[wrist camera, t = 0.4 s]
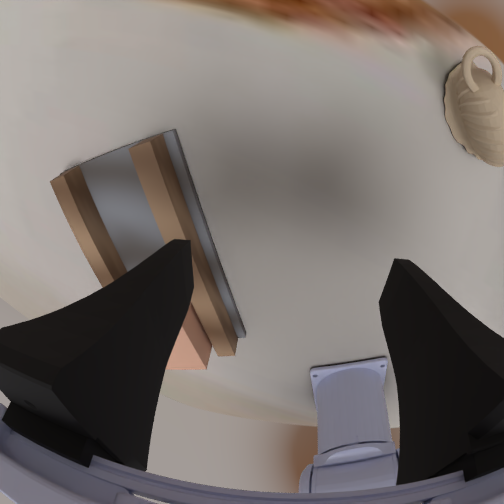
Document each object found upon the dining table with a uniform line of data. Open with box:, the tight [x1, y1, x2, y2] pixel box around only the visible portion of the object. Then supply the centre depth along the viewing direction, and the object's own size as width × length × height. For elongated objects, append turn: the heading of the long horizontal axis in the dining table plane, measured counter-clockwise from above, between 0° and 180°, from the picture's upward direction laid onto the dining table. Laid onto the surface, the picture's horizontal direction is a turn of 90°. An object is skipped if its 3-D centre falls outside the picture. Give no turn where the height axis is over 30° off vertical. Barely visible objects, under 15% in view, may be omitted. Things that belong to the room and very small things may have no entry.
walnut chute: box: [50, 129, 246, 356], centre depth 22 cm, size 18×10×2 cm, turn 14°
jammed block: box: [166, 302, 212, 370], centre depth 24 cm, size 5×5×4 cm
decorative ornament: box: [444, 46, 504, 167], centre depth 12 cm, size 4×8×5 cm, turn 33°
